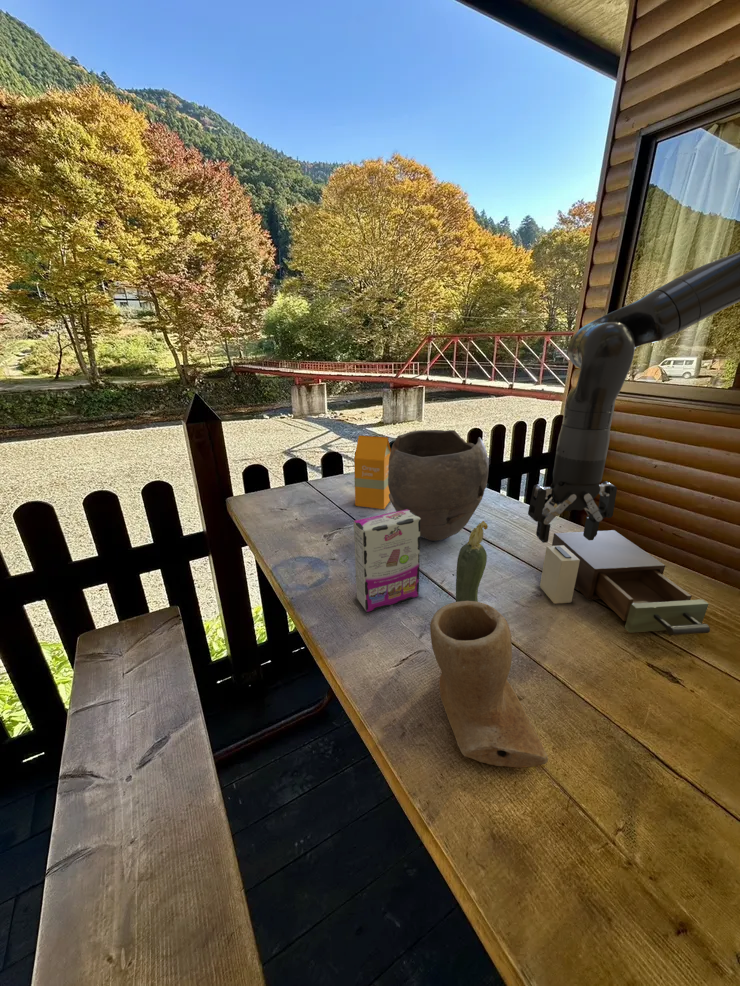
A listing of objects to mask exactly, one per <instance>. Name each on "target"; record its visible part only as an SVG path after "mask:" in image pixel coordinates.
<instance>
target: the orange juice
mask: <svg viewBox="0 0 740 986" xmlns="http://www.w3.org/2000/svg"><path fill="white" fill-rule="evenodd" d="M390 453H391V446H390V441H389V437H388V436H375V435H360V434H359V435H358V437H357V443H356V448H355V453H354V456H353V463H354V464H353V467H354V505H355V507H361V508H370V509H379V510H385V509H386V507H387V506H388V504H389V503H391V501H390V499H389V494H390V491H389V487H388V472H389V470H388V466H389V457H390Z"/></svg>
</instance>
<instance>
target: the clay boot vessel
mask: <svg viewBox="0 0 740 986" xmlns="http://www.w3.org/2000/svg"><path fill="white" fill-rule="evenodd" d="M429 629H430V642H431V647H432V652H433V654H434V657H435V660H436V662H437V665H438V667H439V669H440V671H441V674H440V676H439V679H438V684H439V685H438V686H439V695H440V700H441V703H442V706H443V708H444V712H445V713H446V716H447V720H448V722H449V725H450V727H451V731H452V732H453V736H454V738H455V741H456V744H457V746H458V749H459V751H460V753H461V754H462V755H463V756H464V757H465V758H470V759H472V760H474V761H477V762H479V763H481V764H483V763H484V764H487V765H492V766H496V767H507V768H517V769H518V768H533V767H537V766H543V765H546V764H547V763H548V762H549V756H548V753H547V751H546V750H545V747H544V745H543V743H542V741H541V739H540V737H539V735H538V733H537V731H536V729H535V727H534V725H533V724H532V721H531V720H530V718H529V717H528V714H527V713H526V710H525V708H524V706H523V705H522V703H521V701H520V699H519V697H518V696H517V694H516V692H515V690H514V689H513V687H512V686H511V684H510V682H509V681H508V680H507V679H508V676H509V674H510V672H511V668H512V658H513V647H512V644H513V642H512V632H511V629H510V625H509V623H508V622H507V619H506V618H505V617H504V615H503V614H501V613H500V612H499V611H498V610H497V609H495V607H493V606H491V605H489V604H487V603H484V602H480V601H478V602H476V601H459V602H456V601H453V602H450V603H448V604H445V605H443V606H441V607H440V608H438V609H437V611H436V612H435V613H434V614H433V616H432V618H431V619H430V624H429Z"/></svg>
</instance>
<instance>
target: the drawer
mask: <svg viewBox="0 0 740 986" xmlns="http://www.w3.org/2000/svg"><path fill="white" fill-rule="evenodd" d="M594 592H595V593H596V594H597V595H598V596H599V597H600V598H601V599H600V600H602V602H604V603H605V604H606V605H607V606H608V607H609V608H610V609H611V610H612V611H613V612H614V613H615V614H616V615H617V616H618V617H619V618H620V619H621V620H622V621H624V622H625V625H624V629H625V630H626V631H627V632H628V633H630V634H632V633H644V632H645V633H646V632H658V631H659V632H661V631H666V633H667V635H669V636H683V635H684V636H685V635H698V634H700V635H701V634H709V633H710V631H711V628H710V626H709V625H708V624H707V623H703V622H704V619H705V616H706V613H707V610H708V608H709V604H710V603H708V602H707V601H706V600H705V599H703V598H701V599H692V594H691V593H689V592H687V591H686V590H685V589H683V588H682V587H680V586H679V585H678V584H676V583H675V582H673V581H672V580H671V579H669V577H667V576H665V575H664V574H663V575H662V574H661V573H660V572H658V571H657V570H637V571H619V572H601V573H598V575H597V580H596V584H595V589H594Z"/></svg>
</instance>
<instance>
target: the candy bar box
mask: <svg viewBox="0 0 740 986" xmlns="http://www.w3.org/2000/svg"><path fill="white" fill-rule="evenodd" d="M420 519H421V518H420V517H418V516H417V515H415V514H414V513H412V512H411V511H410V510H408V509H406V510H402V511H397V512H396V511H393V512H388V513H383V514H379V515H374V516H369V517H364V518H361V519H356V520H353V537H354V562H355V564H354V567H355V590H356V600H357V601H358V603H359V604H360V605H361V606H362V608H363V609H364V611H365V612H366V613H370V612H372V611H376V610H379V609H383V608H385V607H388V606H391V605H394V604H395V605H396V604H397V603H402V602H404V601H407V600H410V599H413V598H417V597H419V595H420V594H419V593H420V557H421V556H420V555H421V554H420V553H421V536H420Z"/></svg>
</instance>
